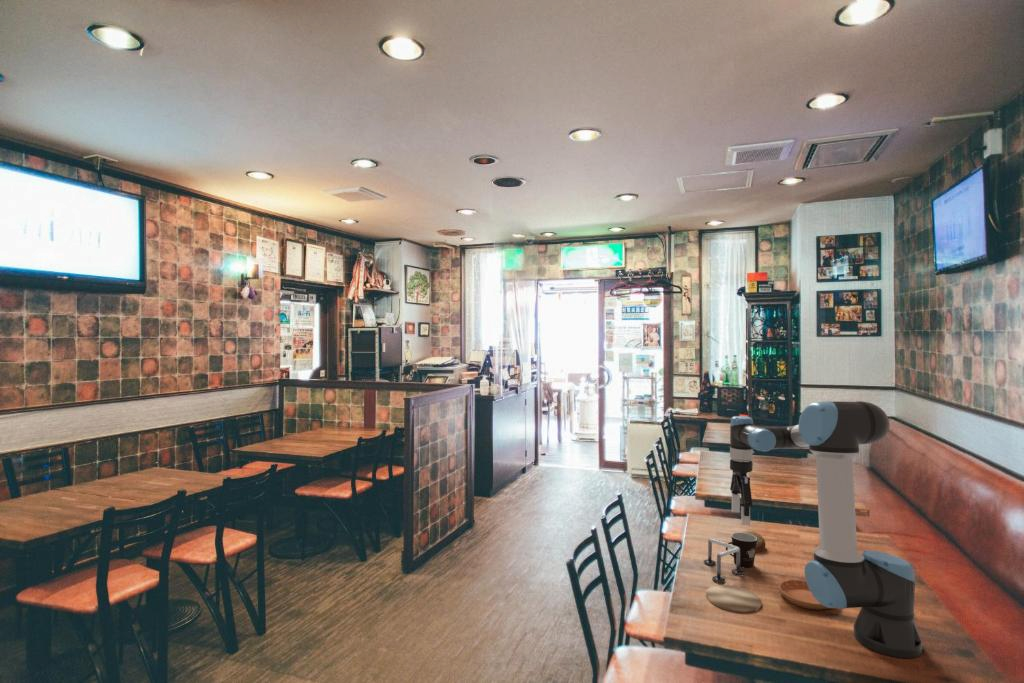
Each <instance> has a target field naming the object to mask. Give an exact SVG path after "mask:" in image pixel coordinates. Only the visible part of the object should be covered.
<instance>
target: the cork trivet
mask: <svg viewBox="0 0 1024 683" xmlns="http://www.w3.org/2000/svg"><path fill="white" fill-rule="evenodd" d="M705 593H706V594H705V595H706V596H705V597H706V599H707V601H708V602H710V603H711V604H712V603H713V604H712V605H714V606H715V607H718V608H720V609H722V610H725V609H726V611H729V612H732V613H733V612H735V613H743V614H744V613H747V612H748V613H754V612H757V611H759V610H760V609H761V608H762V599H761V597H759V595H757V594H756V593H755V592H753V591H751V590H748V589H745V588H742V587H739V586H735V585H729V584H720V585H719V584H718V585H717V584H716V585H713V586H710V587H708V588H707V589H706V592H705ZM760 607H761V608H760ZM759 608H760V609H759ZM758 609H759V610H758ZM756 610H757V611H756ZM753 611H754V612H753Z"/></svg>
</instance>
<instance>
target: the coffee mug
mask: <svg viewBox="0 0 1024 683" xmlns="http://www.w3.org/2000/svg"><path fill="white" fill-rule="evenodd" d="M730 535H731V537H730V538H731V541H730V542H727V544H731V545H734V546H737V547H739V548H740V568H742V567H744V568H743V569H751V568H754V566H755V559H756V553H757V552H756V545H757V537H755V536H754V535H751V534H747V533H742V532H734V533H731V534H730ZM727 550H729V549H728V547H725V551H727ZM729 556H731V557H733V561H734V562H733V564H734V563H735V564H736V552H735V553H732V554H729ZM735 564H734V565H735Z"/></svg>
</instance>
